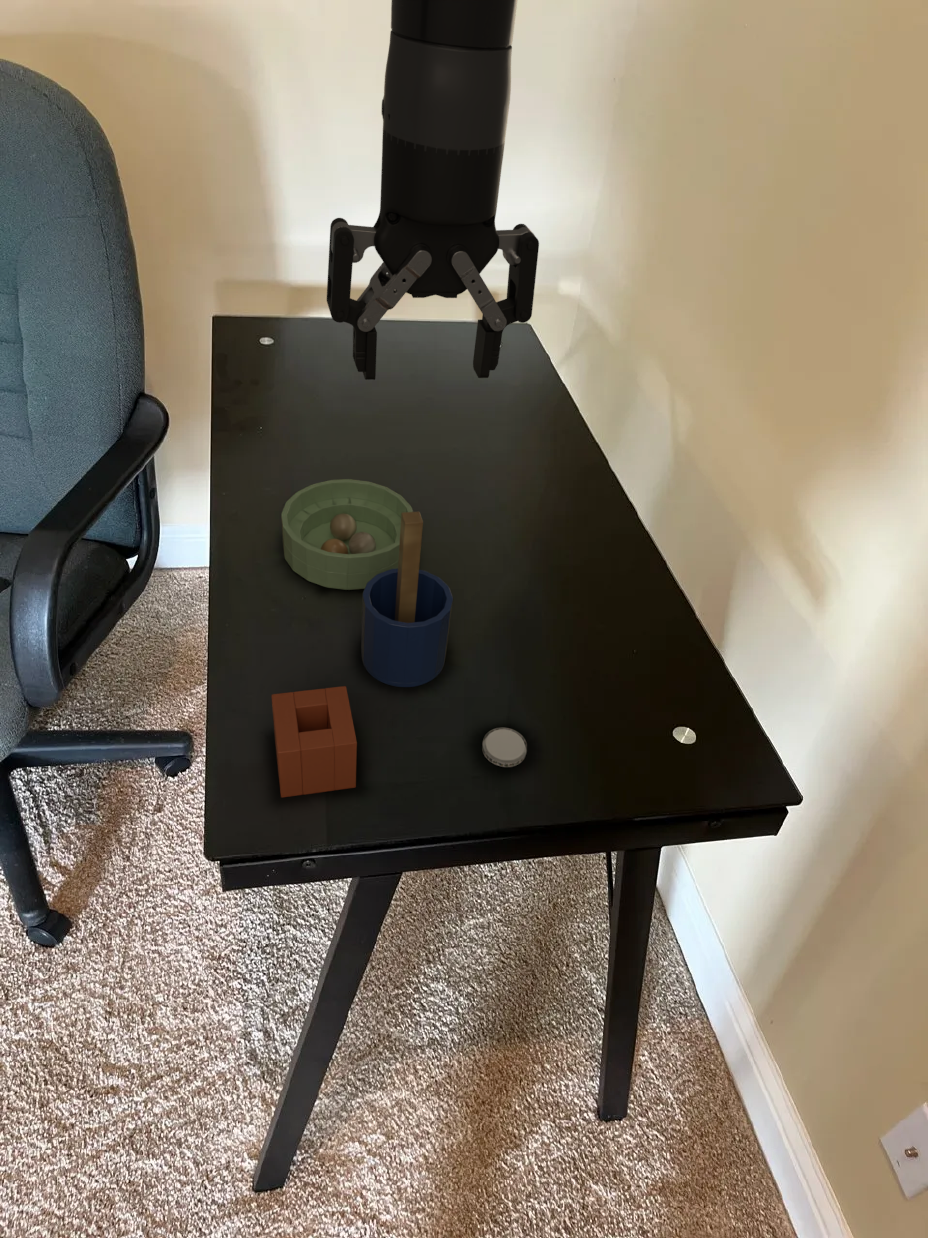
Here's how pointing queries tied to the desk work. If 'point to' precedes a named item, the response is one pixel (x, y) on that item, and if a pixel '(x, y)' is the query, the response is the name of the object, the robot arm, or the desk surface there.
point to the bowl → (311, 528)
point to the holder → (314, 741)
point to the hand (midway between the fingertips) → (425, 374)
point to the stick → (408, 566)
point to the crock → (405, 631)
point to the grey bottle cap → (504, 747)
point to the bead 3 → (362, 543)
